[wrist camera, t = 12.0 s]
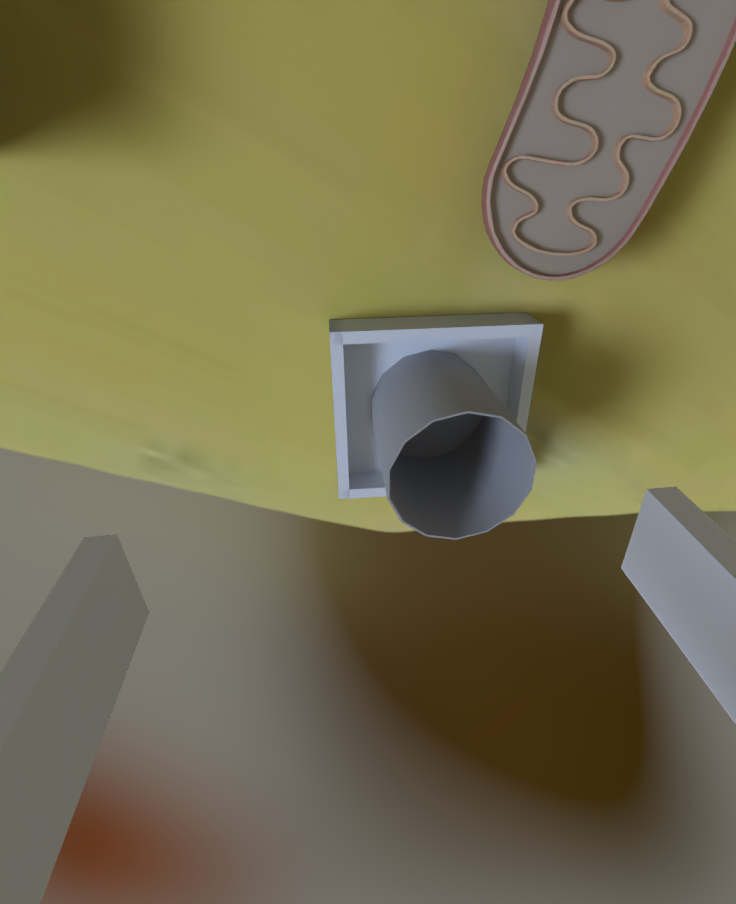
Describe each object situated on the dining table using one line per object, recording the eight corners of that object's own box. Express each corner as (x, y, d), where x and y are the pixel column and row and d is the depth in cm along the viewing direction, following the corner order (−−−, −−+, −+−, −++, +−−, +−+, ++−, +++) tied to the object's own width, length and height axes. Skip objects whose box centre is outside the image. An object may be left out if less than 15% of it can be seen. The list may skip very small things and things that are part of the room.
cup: (506, 394, 35) (566, 464, 27) (433, 472, 38) (465, 559, 30) (420, 326, 32) (455, 381, 24) (347, 417, 35) (355, 495, 27)
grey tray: (329, 319, 32) (329, 332, 30) (526, 312, 33) (543, 323, 31) (337, 477, 39) (339, 499, 36) (503, 467, 40) (516, 488, 37)
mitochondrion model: (594, -324, 20) (667, -461, 16) (790, -237, 22) (904, -338, 18) (445, 251, 31) (465, 263, 27) (584, 281, 33) (623, 296, 28)
